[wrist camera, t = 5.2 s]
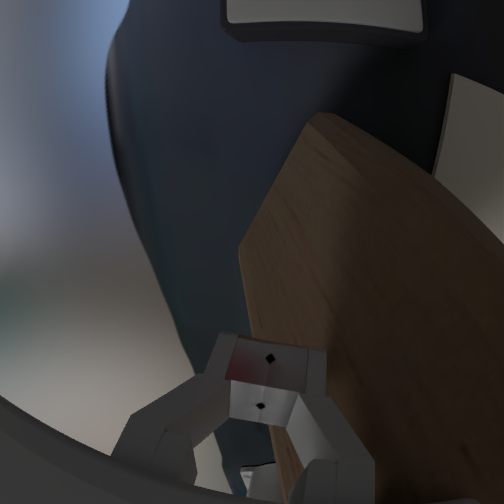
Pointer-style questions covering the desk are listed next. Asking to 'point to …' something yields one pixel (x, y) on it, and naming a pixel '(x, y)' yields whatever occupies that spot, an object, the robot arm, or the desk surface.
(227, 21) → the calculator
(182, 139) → the desk surface
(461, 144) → the mat
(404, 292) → the block
